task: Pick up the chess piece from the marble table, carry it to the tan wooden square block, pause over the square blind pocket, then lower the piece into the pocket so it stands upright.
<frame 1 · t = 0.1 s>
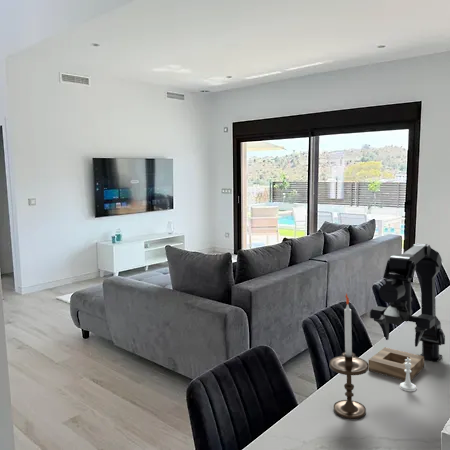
hand: (401, 343, 135), 14 cm above the table, fingers open, 9 cm apart
candlestick: (349, 411, 124), on the table
tan wooden square block: (396, 368, 149), on the table
chess piece: (408, 388, 135), on the table
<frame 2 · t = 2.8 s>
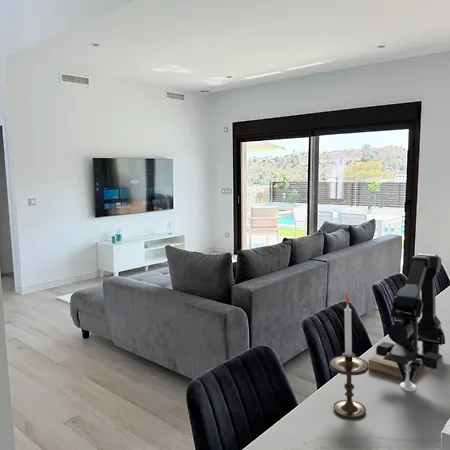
hand: (407, 380, 135), 3 cm above the table, fingers closed on chess piece
chess piece: (408, 388, 135), on the table, touching gripper
everything else where it was.
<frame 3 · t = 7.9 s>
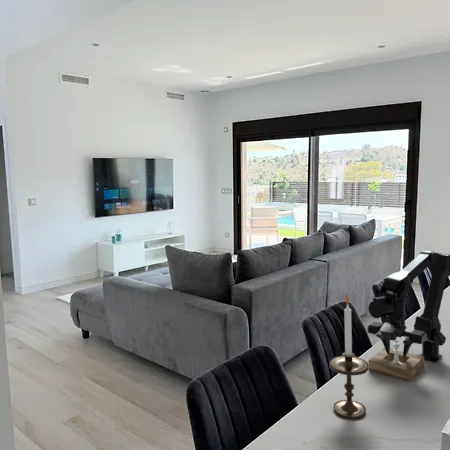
hand: (396, 355, 148), 5 cm above the table, fingers open, 5 cm apart
chess piece: (396, 366, 149), point 1 cm above the table, touching tan wooden square block
everything else where it was.
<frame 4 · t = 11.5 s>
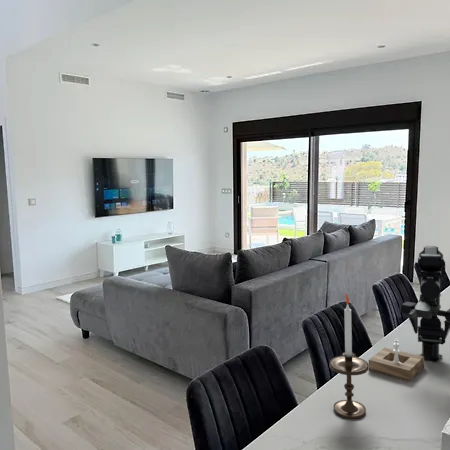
hand: (430, 336, 143), 13 cm above the table, fingers open, 9 cm apart
nothing on the table moved.
at the end: chess piece 0.0 cm off-centre on the tan wooden square block, point 0.8 cm above the tan wooden square block's base; chess piece tilted 0°; the gripper is holding nothing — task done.
